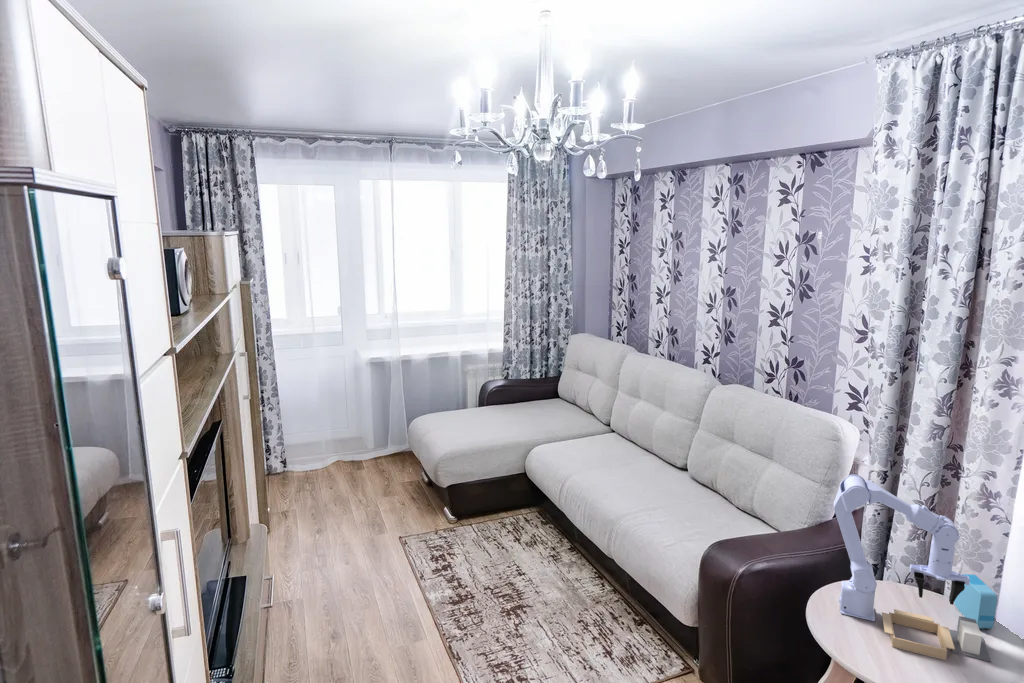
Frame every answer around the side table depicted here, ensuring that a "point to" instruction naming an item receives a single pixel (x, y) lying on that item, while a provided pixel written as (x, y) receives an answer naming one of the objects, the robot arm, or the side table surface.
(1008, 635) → the side table surface
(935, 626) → the carton
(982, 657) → the mat
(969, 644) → the capped box
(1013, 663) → the side table surface
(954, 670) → the side table surface
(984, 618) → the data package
